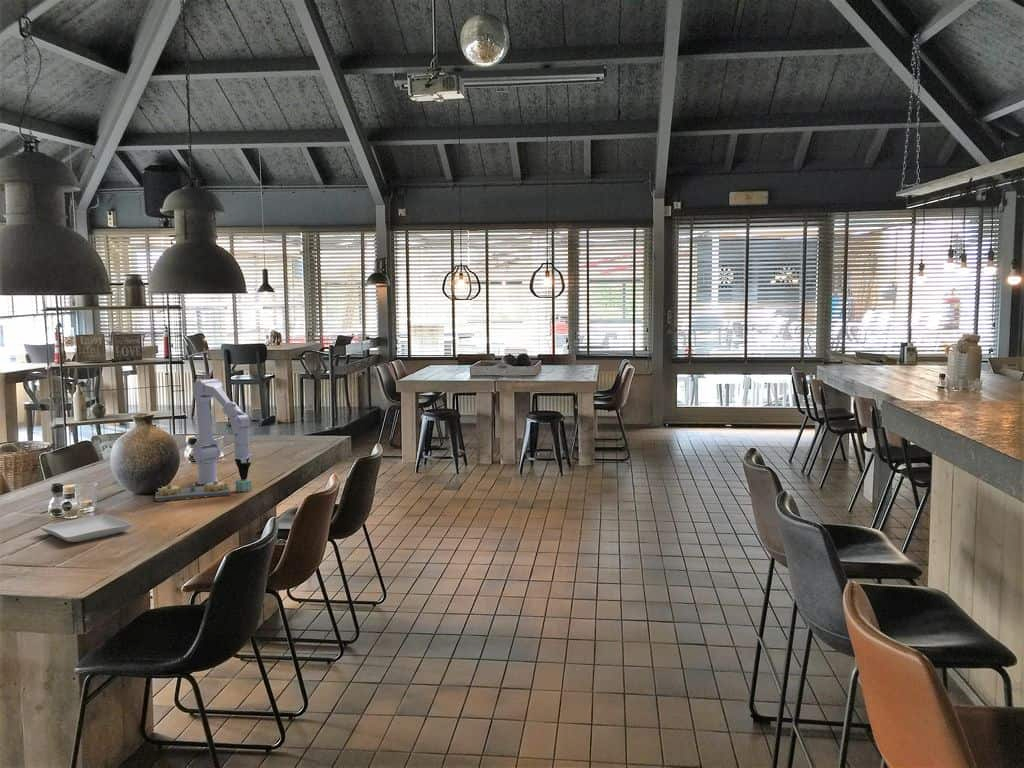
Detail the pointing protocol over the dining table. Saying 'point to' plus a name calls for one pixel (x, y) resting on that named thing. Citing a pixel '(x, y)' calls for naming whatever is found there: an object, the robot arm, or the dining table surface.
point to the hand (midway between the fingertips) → (243, 477)
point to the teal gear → (243, 485)
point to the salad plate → (87, 528)
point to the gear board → (192, 491)
